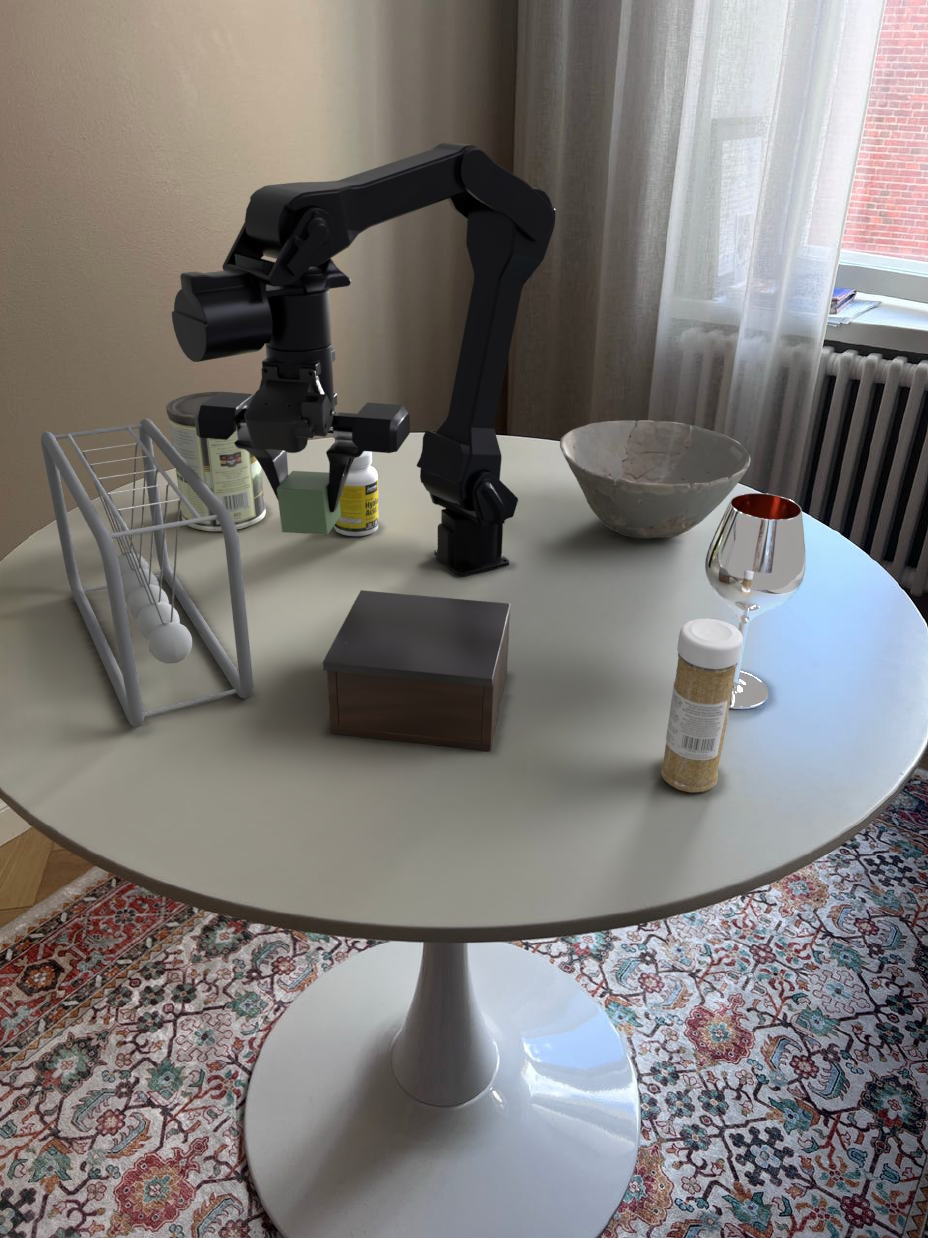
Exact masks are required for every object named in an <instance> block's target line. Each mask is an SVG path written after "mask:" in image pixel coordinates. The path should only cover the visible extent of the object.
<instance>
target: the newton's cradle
mask: <svg viewBox="0 0 928 1238" xmlns="http://www.w3.org/2000/svg"><path fill="white" fill-rule="evenodd" d="M136 429H138V435H139V436H138V435H137V434H136V433H135V431H134V430H136ZM121 431H127V432H128V433H129V435H131V437H132V438H133V440H134V441H135V442H136V443H129V444H121V445H114V446H107V447H100V448H99V447H98V448H94V449H87V450H81V449H80V447H79V446H78V445H77V443H76V441H75V439H74V438H77V437H83V436H90V435H91V436H92V435H99V434H106V433H115V432H121ZM60 439H61V440H62V439H68V441H69V443H70V444H71V447H72V448H73V450H74V451H75V453H76V455H77V456H78V458H79V460H80V461H81V463H82V464H83V465H84V468H85V469H86V471H87V473H88V474H89V477H91V479H92V481H93V484H94V486H95V488H96V491H97V493H98V497H99V499H100V502H101V503H102V506H103V509H104V511H105V514H106V516H107V519H108V521H109V524H110V527H111V530H112V532H111V533H110V531H109V530H108V528H107V526H106V524H105V522H104V521H103V519H102V517H101V515H100V514H99V512H98V510H97V508H96V507H95V505H94V503H93V502H92V500H91V498H90V496H89V495H88V492H87V491H86V489H85V488H84V485H83V484H82V482H81V481H80V478H79V477H78V475H77V473H76V472H75V470H74V468H73V466H72V465H71V463H70V461H69V459H68V457H67V456H66V454H65V452H64V450H63V449H62V447H61V446H60V443H59V442H58V441H57V440H60ZM40 442H41V443H40V445H41V449H42V456H43V459H44V465H45V471H46V476H47V481H48V486H49V490H50V496H51V500H52V501H51V502H52V506H53V512H54V517H55V521H56V526H57V533H58V536H59V541H60V547H61V552H62V558H63V563H64V567H65V572H66V576H67V580H68V584H69V588H70V591H71V594H72V596H73V599H74V601H75V604H76V605H77V608H78V610H79V612H80V614H81V617H82V619H83V621H84V624H85V626H86V628H87V630H88V633H89V634H90V637H91V639H92V642H93V644H94V646H95V649H96V651H97V653H98V655H99V658H100V660H101V662H102V664H103V665H102V666H103V667H104V669H105V672H106V673H107V674H106V675H107V676H108V678H109V680H110V683H111V686H112V687H113V689H114V692H115V694H116V697H117V699H118V701H119V703H120V706H121V708H122V711H123V712H124V714H125V717H126V720H127V721H128V723H129V725H130V726H132V727H134V728H140V727H142V726H143V724H144V721H145V718H146V717H147V718H148V717H151V716H154V715H159V714H162V713H166V712H169V711H173V710H178V709H181V708H185V707H188V706H192V705H197V704H201V703H204V702H208V701H211V700H216V699H220V698H223V697H227V696H232V695H236V694H237V696H238V697H239V698H241V699H248V698H250V697H251V696H252V694H253V693H254V677H253V667H252V658H251V657H252V656H251V647H250V636H249V626H248V617H247V616H248V615H247V606H246V595H245V585H244V575H243V574H244V573H243V566H242V565H243V564H242V556H241V554H242V553H241V544H240V537H239V533H238V529H237V528H236V525H235V522H234V520H233V517H232V515H231V514H230V512H229V511H228V510H227V509H226V508H225V506H224V505H223V504H222V503H221V502H220V501H219V499H218V498H217V497H216V496H215V495H214V494H213V492H212V491H211V490H210V489H209V488H208V487H207V485H206V484H205V483H204V482H203V481H202V480H201V478H200V477H199V476H198V475H197V474H196V472H195V471H194V470H193V469H192V468H191V467H190V465H189V464H188V463H187V462H186V461H185V460H184V458H183V457H182V456H181V455H180V454H179V453H178V451H177V450H176V449H175V448H174V447H173V446H172V442H170V441H169V440H168V439H167V437H165V435H164V434H163V433H162V431H161V430H160V429H159V428H158V427H157V426H156V424H155V423H154V422H153V420H151V419H149V418H143V419H141V420H140V422H139V423H137V424H129V425H122V426H115V427H113V426H112V427H107V428H99V429H93V430H92V429H91V430H84V431H77V432H68V433H61V434H53V433H52V432H50V431H44V432H42V433H41V436H40ZM153 443H154V444H155V446H156V447H157V448H158V449H159V451H161V453H162V454H163V455H164V456H165V458H166V459H167V460H168V461H169V462H170V464H171V465H172V466H173V467H174V469H175V471H176V470H177V471H178V472H179V473H180V474H181V476H182V477H183V478H184V479H185V481H186V482H187V483H188V484H189V485H190V487H191V488H192V489H193V490H194V492H195V493H196V494H197V495H198V496H199V498H200V499H201V500H202V501H203V503H204V504H205V505H206V506H207V508H208V509H209V510H210V511H211V512H212V514H213V515H212V516H206V517H200V515H199V514H198V513H197V512H196V510H195V509H194V508H193V506H192V505H191V504H190V503H189V501H188V500H187V499H186V498H185V496H184V495H183V494H182V492H181V491H180V490H179V489H178V485H177V484H175V482H174V481H173V480H172V478H171V477H170V476H169V474H168V473H167V472H166V471H165V469H164V468H163V467H162V466H161V464H160V463H159V462H158V461H157V459H156V458H155V454H154V446H153ZM134 445H135V448H134V457H129V458H123V459H116V460H115V459H114V460H108V461H101V462H95V463H89V462H88V459H87V457H86V454H85V452H92V451H99V450H106V449H113V448H120V447H128V446H134ZM138 446H139V447H140V449H141V456H138ZM137 459H142V463H143V469H144V470H142V471H137ZM127 460H134V466H133V467H134V469H133V472H130V473H124V474H116V475H110V476H103V477H98V476H97V474H96V471H95V470H94V465H100V464H108V463H114V462H123V461H127ZM158 472H159V473H160V474H161V476H162V477H163V478H164V480H165V481H166V483H164V484H163V483H162V484H159V482H158ZM141 473H143V487H138V488H136V478H137V477H136V475H137V474H141ZM128 475H129V476H130V475H133V482H132V483H133V484H132V488H131V489H126V490H119V491H113V492H107V491H106V489H105V486H104V483H103V481H102V480H103V479H109V478H116V477H123V476H128ZM61 478H62V479H63V481H64V483H65V485H66V488H67V489H68V490H69V493H70V494H71V496H72V498H73V500H74V502H75V504H76V506H77V508H78V510H79V511H80V513H81V515H82V517H83V519H84V520H85V522H86V524H87V526H88V528H89V530H90V532H91V534H92V535H93V537H94V539H95V541H96V543H97V546H98V548H99V554H100V556H101V560H102V565H103V571H104V575H105V581H106V584H103V585H98V586H93V587H89V588H83V585H82V583H81V578H80V575H79V570H78V565H77V558H76V554H75V548H74V544H73V538H72V533H71V528H70V522H69V518H68V517H69V516H68V511H67V506H66V502H65V501H66V500H65V497H64V492H63V491H64V490H63V486H62V481H61ZM163 486H165V487H166V488H165V499H164V501H161V497H160V489H159V487H163ZM169 487H171V489H172V490H173V491H174V492H175V494H176V495H177V497H178V498H176V499H171V500H168V497H169ZM138 490H142V505H136V506H135V495H136V494H135V493H136V491H138ZM146 490H147V496H148V504H147V503H146V504H145V500H146V499H145V498H146ZM125 492H132V505H131V506H128V507H123V508H118V509H117V508H116V506H115V502H114V500H113V498H112V495H113V494H118V493H119V494H120V493H125ZM181 500H182V501H183V503H184V504H185V505H186V507H187V508H188V509H189V510H190V512H191V513H192V514H193V516H194V517H195V519H189V520H184V521H183V520H180V511H181V504H180V501H181ZM176 501H177V513H176V514H177V516H176V521H174V522H167V512H168V511H167V510H168V503H171V502H176ZM162 504H164V517H163V510H162ZM148 506H149V511H150V517H151V526H144V518H145V517H144V515H145V507H148ZM135 508H141V524H140V527H139V528H134V512H135ZM129 509H131V519H130V521H131V522H130V523H131V524H130V528H129V527H128V526H127V524H126V522H125V519H124V516H123V513H122V511H123V510H129ZM212 520H218V521H219V523H220V526H221V528H222V535H223V540H224V546H225V556H226V557H225V558H226V566H227V567H226V568H227V575H228V584H229V593H230V595H229V596H230V604H231V613H232V622H233V623H232V624H233V631H234V641H235V642H234V643H235V651H236V660H237V668H238V669H237V668H236V667H235V665H234V664H233V662H232V660H231V659H230V657H229V655H228V654H227V652H226V651H225V650H224V648H223V646H222V644H221V643H220V641H219V640H218V639H217V637H216V636H215V634H214V633H213V631H212V630H211V628H210V626H209V625H208V623H207V622H206V620H205V619H204V617H203V615H202V614H201V612H200V610H199V609H198V608H197V606H196V605H195V603H194V602H193V600H192V598H191V597H190V596H189V594H188V592H187V591H186V590H185V588H184V586H183V585H182V583H181V582H180V580H179V578H178V577H177V576H176V574H177V573H176V571H177V558H178V544H179V543H178V542H179V527H185V526H187V525H190V524H195V523H201V522H206V521H212ZM172 528H176V531H175V532H176V533H175V545H174V562H173V569H172V566H171V563H170V559H169V554H168V547H167V541H166V529H172ZM145 533H151V536H150V553H149V564H148V562H147V560H146V559H145V558H144V557H143V556H142V550H143V534H145ZM139 534H140V539H139V542H140V544H139V554H138V552H137V549H136V547H135V544H134V542H133V535H139ZM113 539H116V542H117V544H118V547H119V549H120V552H121V554H118V553H117V549H116V545H115V542H114V540H113ZM153 544H155V545H153ZM153 546H155V552H156V557H157V563H158V567H159V569H160V573H159V574H154V573H153V572H152V563H153V562H152V561H153ZM158 579H159V580H158ZM163 579H164V580H165V582H166V583H167V585H168V586H169V588H170V590H171V591H172V594H171V604H170V601H169V596H168V595H167V593H166V591H164V589H163V588H162V585H163V584H162V583H163ZM101 590H107V593H108V599H109V606H110V610H111V616H112V622H113V628H114V634H115V639H116V645H117V650H118V657H119V661H120V666H119V664H118V662H117V660H116V658H115V656H114V654H113V651H112V649H111V648H110V645H109V643H108V640H107V638H106V635H105V633H104V632H103V630H102V627H101V625H100V623H99V621H98V619H97V617H96V615H95V613H94V610H93V608H92V606H91V603H90V602H89V600H88V598H87V596H86V593H92V592H97V591H101ZM175 597H176V599H177V600H178V602H179V604H180V605H181V606H182V607H181V608H182V609H183V611H184V612H185V613H186V615H187V617H188V618H189V620H190V621H191V623H192V624H193V626H194V628H195V629H196V631H197V633H198V634H199V636H200V638H201V639H202V641H203V642H204V644H205V645H206V647H207V649H208V650H209V652H210V653H211V655H212V657H213V658H214V660H215V661H216V663H217V664H218V666H219V668H220V669H221V671H222V673H223V674H224V675H225V677H226V679H227V681H228V682H229V684H230V685H231V687H232V689H230V690H225V691H222V692H221V691H220V692H218V693H214V694H209V695H205V696H202V697H199V698H195V699H191V700H186V701H183V702H179V703H175V704H171V705H167V706H164V707H159V708H156V709H152V710H148V711H145V712H144V706H143V699H142V692H141V687H140V681H139V674H138V670H137V663H136V657H135V651H134V646H133V645H134V644H133V638H132V633H131V626H130V620H129V615H128V612H129V614H130V615H131V617H132V618H133V619H135V620H136V625H137V629H138V631H139V632H140V634H141V635H142V636H143V637H144V638H145V639H146V640H147V643H148V644H147V646H148V649H149V652H150V654H151V655H152V656H153V658H154V659H155V660H157V661H159V662H161V663H164V664H169V665H171V664H177V663H180V662H182V661H183V660H184V659H186V658H187V657H188V655H189V654H190V653H191V651H192V647H193V637H192V634H191V633H190V630H189V629H188V628H187V627H186V626H185V625H183V624H182V623H180V616H179V613H178V610H176V608H175V607H174V603H175V600H174V599H175ZM120 668H121V669H120Z"/></svg>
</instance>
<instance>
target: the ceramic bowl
mask: <svg viewBox="0 0 928 1238" xmlns="http://www.w3.org/2000/svg"><path fill="white" fill-rule="evenodd" d="M559 448H560V451H561V453H562V455H563V457H564V458H565V461H566V463H567V465H568V467H569V469H570V471H571V472H572V474H573V475H574V477H575V479H576V481H577V483H578V485H579V487H580V489H581V491H582V493H583V495H584V497H585V500H586V502H587V504H588V506H589V508H590V509H591V510H592V512H593V513H594V514H595V516H596V517H598V519H599V520H600V521H601V522H602V523H603V524H604V525H605V526H606V527H607V528H609V529H610V530H612V531H616V533H618V534H620V535H622V536H625V537H629V538H633V539H656V538H661V539H665V538H671V537H677V536H678V537H679V536H681V535H683V534H684V533H686V532H689V531H690V530H692V529H693V528H694V527H696V526H697V525H698V524H701V522H703V521H704V520H705V519H706V518H708V516H709V515H710V514H711V513H712V512H713V511H714V510H715V509H716V508H718V506H720V505H721V504H722V503H723V501H725V500H726V498H727V497H728V496H729V495H730V494H731V492H733V490H734V489H735V487H736V486H737V485H738V483H739V482H740V481H741V480H742V479H743V477H744V475H745V474H746V472H747V471H748V469H749V467H750V464H751V455H750V454H749V452H748V451H747V450H746V447H744V446H743V445H742V444H741V443H740V442H739V441H737V440H735V439H733V438H731V437H730V436H729V435H728V436H727V435H726V434H724V433H720V432H717V431H713V430H711V429H707V428H704V427H701V426H697V425H691V424H688V423H683V422H675V421H666V420H665V421H663V420H662V421H661V420H657V421H654V420H646V419H644V420H643V419H639V420H637V421H636V420H609V421H601V422H593V423H588V424H586V425H583V426H579V427H576V428H574V429H571V430H569V431H568V432H566V433H565V434H564V435H563V436H562V437H561V438H560V441H559Z"/></svg>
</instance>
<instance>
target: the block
mask: <svg viewBox="0 0 928 1238" xmlns="http://www.w3.org/2000/svg"><path fill="white" fill-rule="evenodd" d="M328 493H329V472H328V471H327V472H326V471H325V472H324V471H307V470H306V471H305V470H292V471H291V472H290V473H288V476H287V478H286V479H285V480H284V481H283V482H282V483H281V484H280V485H279V486H278V488H277V494H278V500H277V503H278V510H279V517H280V525H281V532H282V533H289V534H304V535H305V534H306V535H307V534H308V535H323V536H324V535H325V536H328V535H329V533H330V532H331V531H332V529H333V528H334V525H335V523H336V522H337V520H338V519H339V518H340V516H341V512H340V501H339V503H338V506H337V509H336V510H335V512H330V509H329V501H328Z"/></svg>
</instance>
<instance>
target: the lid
mask: <svg viewBox="0 0 928 1238" xmlns="http://www.w3.org/2000/svg"><path fill="white" fill-rule="evenodd" d="M509 614H510V615H511V603H507V602H497V601H484V600H473V599H462V598H451V597H442V596H441V597H440V596H430V595H418V594H408V593H397V592H384V591H373V590H364V589H363V590H362V589H360V591H359V593H358V595H357V597H356V598H355V600H354V602H353V604H352V605H351V608H350V609H349V612H348V614H347V616H346V617H345V619H344V621H343V623H342V624H341V627H340V628H339V631H338V632H337V634H336V637H335V638H334V639H333V642H332V644H331V646H330V648H329V649H328V652H327V653H326V656H325V657H324V659H323V661H322V671H326V672H327V671H336V672H346V673H356V674H366V675H376V676H385V677H395V678H405V679H415V680H425V681H435V682H445V683H455V684H464V685H474V686H484V687H492V686H493V682H494V677H495V673H496V669H497V665H498V660H499V656H500V652H501V648H502V643H503V639H504V635H505V631H506V626H507V622H508V618H509Z"/></svg>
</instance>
